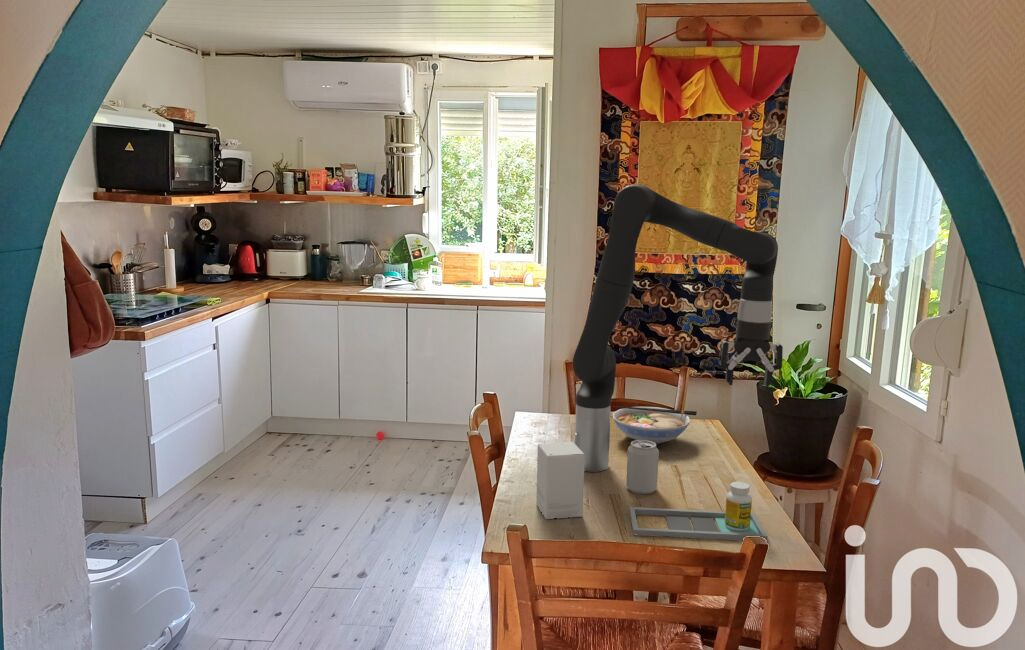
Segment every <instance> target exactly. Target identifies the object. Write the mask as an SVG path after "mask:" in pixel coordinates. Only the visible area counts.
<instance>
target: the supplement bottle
mask: <svg viewBox="0 0 1025 650" xmlns="http://www.w3.org/2000/svg"><path fill="white" fill-rule="evenodd" d="M729 490H730V491H728V492H727V493H726V499H725V525H726V527H727V528H729V529H731V530H735V531H746V530H748V529H749V527H750V518H751V513H752V504H753V498H752V495H751V494H750V485H749V484H748V483H745V482H742V481H733V482H731V483H730V486H729Z"/></svg>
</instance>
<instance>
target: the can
mask: <svg viewBox="0 0 1025 650" xmlns="http://www.w3.org/2000/svg"><path fill="white" fill-rule="evenodd" d="M659 451H660V450H659V449H658V448H657V444H655V443H654V442H651V441H647V440H635V439H634V440H633V441H631V442H630V446H628V447H627V457H626V460H627V461H626V462H627V463H626V481H625V482H626V484H625V485H626V486H625V487H626V488H627V489H628V490H629V491H630V492H632V493H634V494H638V495H649V494H652V493H654V491H656V490H657V488H658V474H659V453H660V452H659Z"/></svg>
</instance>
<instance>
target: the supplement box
mask: <svg viewBox="0 0 1025 650" xmlns="http://www.w3.org/2000/svg"><path fill="white" fill-rule="evenodd" d="M536 452H537V458H536V460H537V461H536V504H537V505H536V506H537V508H538V507H539V508H538V509H539V511H540V513H541V512H542V513H541V514H542V516H543V515H544V516H543V517H544V519H545V520H554V518H557V519H567V518H568V517H569V519H570V518H583V516H584V513H583V511H584V509H583V508H584V487H585V485H584V484H585V483H584V482H585V471H584V462H585V454H584V453H583V452H582V451H581V450H580V449H579V448H578V447H577V446H576V445H575V441H564V442H550V443H549V442H546V443H545V442H544V443H538V444H537V451H536Z"/></svg>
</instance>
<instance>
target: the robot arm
mask: <svg viewBox="0 0 1025 650" xmlns="http://www.w3.org/2000/svg"><path fill="white" fill-rule="evenodd" d="M611 214H612V215H611V219H610V227H609V233H608V237H607V242H606V244H605V246H604V250H603V253H602V258H601V261H600V266H599V269H598V272H597V274H596V279H595V283H594V286H593V289H592V290H593V291H592V296H591V298H590V303H589V307H588V311H587V316H586V320H585V322H584V323H585V324H584V326H583V330H582V333H581V336H580V338H579V340H578V343H577V346H576V347H575V351H574V354H573V356H572V357H573V358H572V370H573V373H574V375H575V376H576V378H577V379H579V380H580V381H581V385H580V388H579V389H578V391H577V393H576V394H575V395H576V396H575V422H574V424H575V425H574V443H575V445H576V446H577V447H578V448H579V449H580V450H581V451H582V452H583V453H584V454H585V462H584V472H589V473H591V472H594V473H595V472H596V473H598V472H604V471H606V470H608V469H609V467H610V465H609V462H610V439H611V437H610V435H611V432H610V431H611V414H612V413H611V410H612V409H611V408H612V399H613V395H614V391H615V385H616V372H617V371H616V370H617V369H616V368H617V361H616V360H617V359H616V355H615V353H614V350H613V349H612V348H611V347H610V346H609V341H610V337H611V334H612V332H613V330H614V328H615V327H616V324H617V323H618V321H619V320H620V317H621V316H622V315H623V313H624V311H625V310H626V307H627V305H628V303H629V299H630V296H631V293H632V289H633V285H634V281H635V275H636V273H635V272H636V249H637V243H638V240H639V237H640V234H641V231H642V229H643V225H644V224H645V223H649V224H654V225H659V226H663V227H666V228H669V229H672V230H673V231H676V232H678V233H680V234H682V235H684V236H686V237H688V238H690V239H691V240H693V241H695V242H697V243H701V244H703V245H705V246H709V247H711V248H712V249H713V248H714V249H717V250H720V251H722V252H727V253H729V254H730V255H733V256H735V257H736V258H739V259H741V260H744V261H745V262H746V263H745V273H744V275H743V278H742V280H741V281H742V282H741V288H740V289H741V290H740V298H739V299H740V300H739V301H740V302H739V304H738V310H737V311H738V312H737V321H736V333H735V340H734V341H726V340H725V339H724V340H722V341H721V343H720V351H719V358H718V364H719V365H720V366H721V367H723V368H725V379H724V380H725V382H726V383H727V385H728V386H733V381H734V368H735V367H736V366H737V365H738V364H739V363H741V362H742V361H744V362H750V361H753V362H759V361H760V362H762V364H763V365H764V367H765V369H764V377H763V378H764V379H763V386H764V387H765V388H769V386H771V385H772V383H773V373H774V372H775V371H778V370H779V371H780V370H782V368H783V351H784V350H783V348H784V347H783V345H782V344H780V343H779V342H776V343H770V334H771V326H772V325H771V324H772V315H773V304H772V303H773V294H774V293H773V291H774V290H773V289H774V276H775V271H776V266H777V260H778V253H779V244H778V242H777V241H778V240H777V239H776V238H775V237H774V236H773V235H772V234H769V233H767V232H757V231H754V230H750V229H748V228H744V227H741V226H739V225H738V224H737V223H735V222H732V221H730V220H727V219H724V218H721V217H720V216H715V215H712V214H709V213H707V212H703V211H699V210H697V209H694V208H690V207H688V206H685V205H682V204H680V203H678V202H675V201H673V200H670V199H669V198H667V197H665V196H663V195H662V194H660V193H658V192H656V191H655V190H652V189H651V188H650V187H648V186H647V185H642V184H630V185H626V186H625V187H623V188H622V189H621V190H619V192H618V193H617V194H616V196H615V198H614V201H613V206H612V213H611ZM732 348H733V350H735V353H734V354H733V355H732V356H731V357H730V359H729V360H728V361H727V359H728V353H729V351H731V349H732ZM770 350H771V352H772V353H773V355H774V357H773V359H774V360H773V363H771V362H770V360H769V359H768V357H767V356H766V355H767V354H768V352H770Z"/></svg>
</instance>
